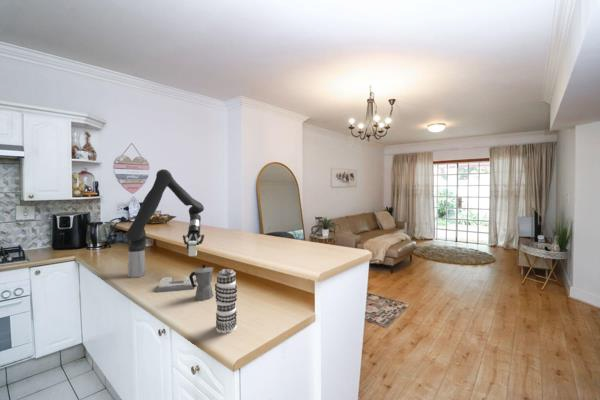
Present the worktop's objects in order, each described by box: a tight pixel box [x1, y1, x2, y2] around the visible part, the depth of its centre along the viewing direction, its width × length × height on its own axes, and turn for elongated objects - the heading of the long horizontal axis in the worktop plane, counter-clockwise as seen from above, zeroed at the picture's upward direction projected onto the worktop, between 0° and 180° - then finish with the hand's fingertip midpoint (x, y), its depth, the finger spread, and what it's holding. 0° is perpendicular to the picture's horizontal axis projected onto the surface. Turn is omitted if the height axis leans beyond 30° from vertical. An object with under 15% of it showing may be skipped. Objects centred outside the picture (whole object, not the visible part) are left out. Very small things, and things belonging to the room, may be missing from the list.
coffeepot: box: [188, 264, 215, 301], centre depth 144 cm, size 15×9×18 cm, turn 147°
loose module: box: [188, 241, 198, 257], centre depth 175 cm, size 4×4×9 cm
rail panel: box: [156, 275, 197, 293], centre depth 160 cm, size 20×12×5 cm, turn 105°
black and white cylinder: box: [214, 268, 238, 334], centre depth 114 cm, size 9×9×25 cm
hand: (192, 248), depth 173 cm, fingers closed on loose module, 4 cm apart
